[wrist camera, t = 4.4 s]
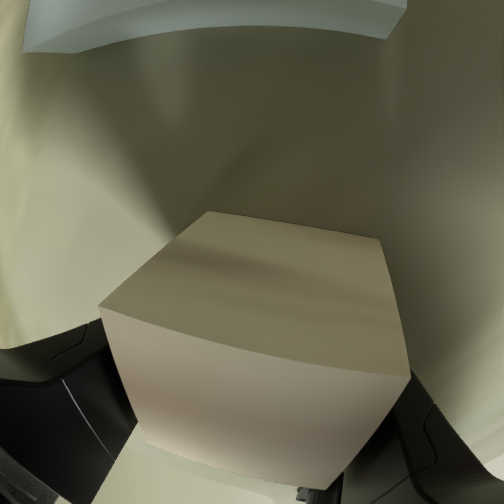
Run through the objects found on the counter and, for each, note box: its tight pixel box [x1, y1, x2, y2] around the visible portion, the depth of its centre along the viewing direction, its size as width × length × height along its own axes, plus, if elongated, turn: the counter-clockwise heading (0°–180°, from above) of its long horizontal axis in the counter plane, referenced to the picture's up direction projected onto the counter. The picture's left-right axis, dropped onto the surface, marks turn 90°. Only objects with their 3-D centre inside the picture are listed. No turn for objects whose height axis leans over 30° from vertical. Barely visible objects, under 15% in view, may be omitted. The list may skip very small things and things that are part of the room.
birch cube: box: [98, 211, 411, 490], centre depth 7 cm, size 5×5×5 cm
